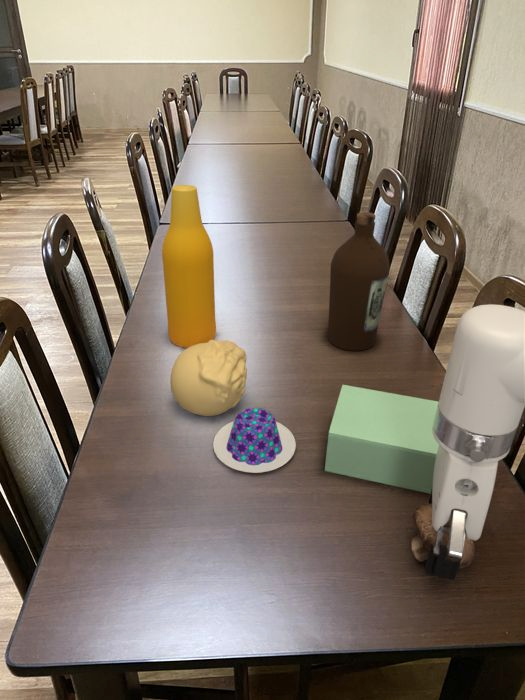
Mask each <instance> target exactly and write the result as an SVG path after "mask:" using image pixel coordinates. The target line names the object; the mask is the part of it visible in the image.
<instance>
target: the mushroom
mask: <svg viewBox="0 0 525 700" xmlns="http://www.w3.org/2000/svg"><path fill="white" fill-rule="evenodd" d="M412 521H413V524H414V527H415V530H416V532H417V535H416V536H414V537H413V538H412V539H411V544H410V546H411V547H410V548H411V552H412V554H413V556H414V558H415V559H416V560H417V561H418V562H421V563H422V562H425V561H427V558H428V555H429V551H430V548H431V546H434V544H435V538H436V530H435V529H434V528H433V526H432V504H429V503H428V502H427V503H421V504H419V505H418V506H417V507H416V508H415V509H414V511H413V513H412ZM445 525H447V526H450V519H449V521H448V522H447V523H446V524H445ZM448 540H449V534H448V533H443V536H442V542H441V545H445V546H447V545H448ZM475 554H476V548H475V543H474V540H471V539H468V537H467V533H466V536H465V543H464V549H463V555H462V560H461V563H460V566H459V569H464V568H467V567H468V566H470V565H472V562H473V561H474V559H475Z"/></svg>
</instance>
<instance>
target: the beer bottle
mask: <svg viewBox="0 0 525 700" xmlns="http://www.w3.org/2000/svg"><path fill="white" fill-rule="evenodd" d="M170 195H171V198H170V220H169V226H168V229H167V231H166V234H165V236H164V239H163V242H162V246H161V248H162V249H161V259H162V268H163V269H162V270H163V280H164V292H165V294H164V295H165V305H166V316H167V334H168V338H169V340H170V341H171V342H172V343H173V344H174V345H175V346H177V347H179V348H180V347H181V348H185V349H187V348H189V347H191V346H193V345H196V344H200V343H207V342H209V341H210V340H215V338H216V333H217V322H216V296H215V267H214V248H213V243H212V241H211V238H210V236H209V234H208V232H207V230H206V228H205V226H204V223H203V221H202V213H201V208H200V200H199V195H198V189H197V187H196V186H195V185H192V184H191V185H190V184H179V185H178V184H177V185H174V186H172V187H171V194H170Z"/></svg>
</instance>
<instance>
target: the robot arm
mask: <svg viewBox="0 0 525 700" xmlns="http://www.w3.org/2000/svg"><path fill="white" fill-rule="evenodd" d="M524 410H525V310H522V309H519V308H516V307H513V306H510V305H509V306H508V305H503V304H494V303H493V304H492V303H491V304H480V305H477V306H473V307H471V308H469V309H468V310H466V311H465V312H464V313H463V314H462V315H461V316H460V318H459V320H458V322H457V325H456V329H455V332H454V336H453V341H452V345H451V349H450V353H449V358H448V361H447V365H446V369H445V374H444V378H443V382H442V386H441V390H440V395H439V399H438V406H437V410H436V415H435V419H434V423H433V427H432V433H433V436H434V438H435V440H436V441H437V443H438V444H439V447H438V451H437V455H436V460H435V465H434V473H433V486H432V490H431V494H429V498H428V502H427V503H429V504H432V526H433V528H434V529H435V530H436V538H435V544H434V546H431V548H430V551H429V555H428V558H427V559H426V562H425V565H424V574H426V575H428V576H431V577H436V578H438V579H443V580H447V581H455V580H456V578H457V575H458V572H459V570H460V568H459V566H460V563H461V560H462V555H463V549H464V543H465V536H466V533H467V537H468V539H471V540H473V541H477V540H479V539H480V538H481V536H482V532H483V529H484V525H485V522H486V519H487V516H488V512H489V507H490V503H491V500H492V498H493V497H492V496H493V492H494V488H495V483H496V478H497V472H498V465H499V461H501V460H503V459H505V458H506V457H507V456H508V454H509V453H510V451H511V448H512V445H513V441H514V439H515V436H516V433H517V431H518V428H519V425H520V422H521V418H522V415H523V412H524ZM449 519H450V526H447V525H445V524H446V523H447V522H448V521H449ZM443 533H448V534H449V540H448V545H447V546H445V545H441V542H442V536H443Z"/></svg>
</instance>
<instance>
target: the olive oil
mask: <svg viewBox="0 0 525 700" xmlns="http://www.w3.org/2000/svg"><path fill="white" fill-rule="evenodd" d="M375 220H376V214H375V213H373V212H370V211H361V212H358V213H356V220H355V224H354V234H353V235H352V236H350V238H348V239H347V240H346V241H344V243H342V244H341V245H340V246H339V247H337V249H336V251H335V252H334V254H333V257H332V259H331V262H330V271H329V272H330V273H329V275H330V276H329V280H330V281H329V302H328V322H327V323H328V324H327V340H328V342H329V343H330V344H331V345H333V346H334V347H336V348H338V349H341V350H346V351H350V352H360V351H365V350H368V349H370V348H372V347H373V346H374V345H375V344H376V341H377V335H378V329H379V325H380V324H379V323H380V319H381V314H382V309H383V303H384V300H385V296H386V295H385V294H386V290H387V284H388V281H389V275H390V259H389V256H388V254H387V252H386V250H385V249H384V247H383V246H382V245H381V244H380V243H379V241H378V240H377V239H376V238H375V236H374V234H375V227H376V222H375Z"/></svg>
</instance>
